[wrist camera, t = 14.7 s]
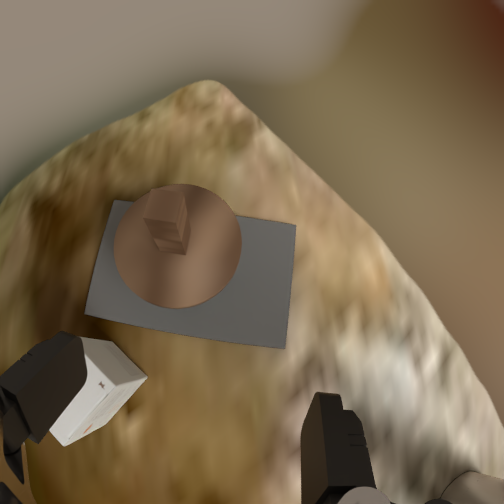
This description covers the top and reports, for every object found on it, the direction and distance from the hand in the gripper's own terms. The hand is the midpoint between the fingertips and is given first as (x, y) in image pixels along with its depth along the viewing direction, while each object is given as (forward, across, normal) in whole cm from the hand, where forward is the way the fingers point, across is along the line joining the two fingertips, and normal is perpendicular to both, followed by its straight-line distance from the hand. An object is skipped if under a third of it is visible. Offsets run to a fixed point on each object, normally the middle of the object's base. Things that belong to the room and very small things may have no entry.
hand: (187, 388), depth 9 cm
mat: (+23, +6, +5) cm, 25 cm away
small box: (+14, +12, +17) cm, 25 cm away
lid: (+19, +7, +2) cm, 21 cm away
